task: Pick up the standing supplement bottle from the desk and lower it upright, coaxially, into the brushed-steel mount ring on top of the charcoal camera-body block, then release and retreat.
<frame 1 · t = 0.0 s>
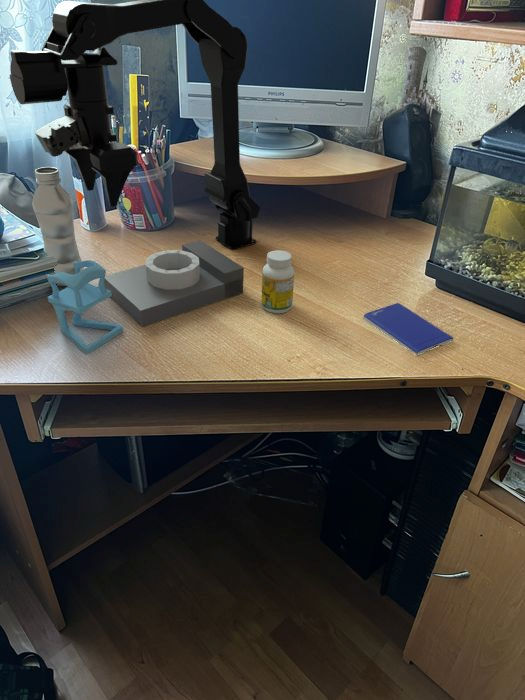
hand: (101, 197, 93), 15 cm above the table, fingers open, 9 cm apart
plastic bottle: (67, 282, 99), on the table
hard drive: (405, 333, 90), on the table
supplement bottle: (276, 307, 94), on the table
chair: (86, 335, 85), on the table
camera mount: (174, 292, 97), on the table
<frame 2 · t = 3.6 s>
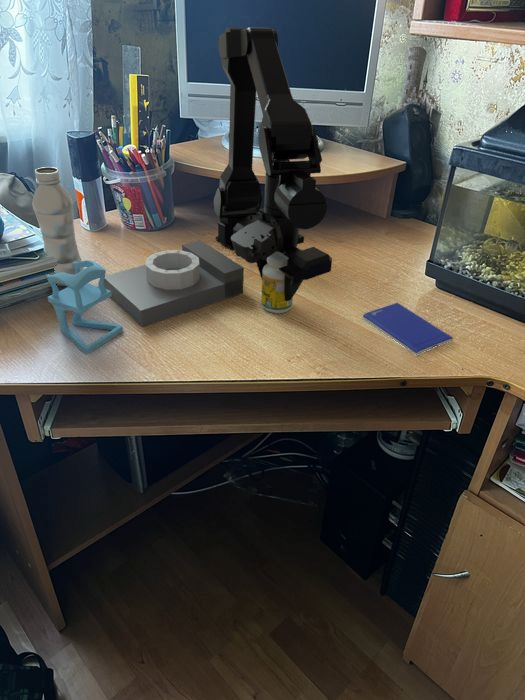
hand: (277, 293, 93), 3 cm above the table, fingers closed on supplement bottle, 5 cm apart
supplement bottle: (276, 307, 94), on the table, touching gripper
everything else where it was.
when the fingers open (7 cm above the table, at t = 8.3 s): supplement bottle drops 1 cm, resting on camera mount.
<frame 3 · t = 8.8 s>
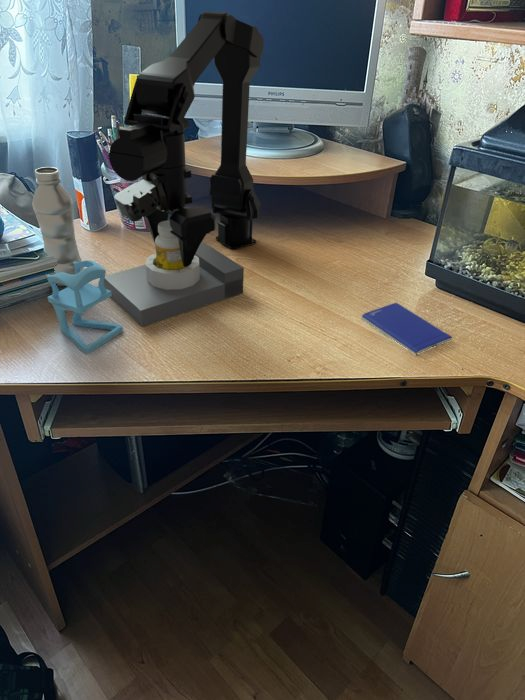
hand: (172, 256, 93), 7 cm above the table, fingers open, 9 cm apart
supplement bottle: (173, 277, 95), point 3 cm above the table, touching camera mount
everything else where it was.
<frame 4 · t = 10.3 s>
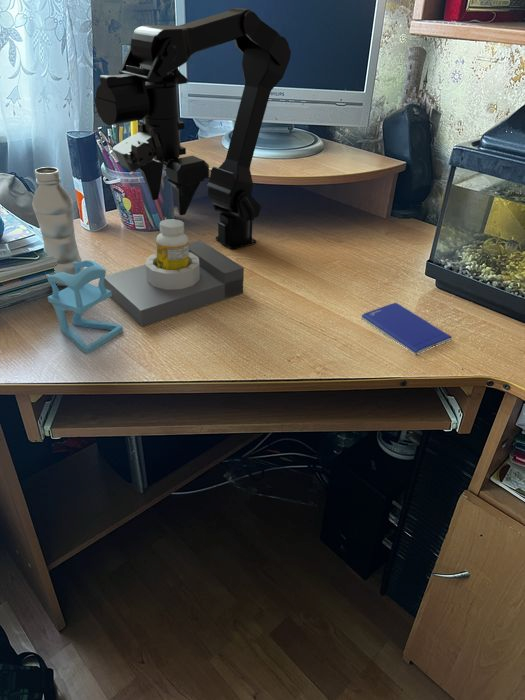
hand: (168, 207, 99), 12 cm above the table, fingers open, 9 cm apart
nothing on the table moved.
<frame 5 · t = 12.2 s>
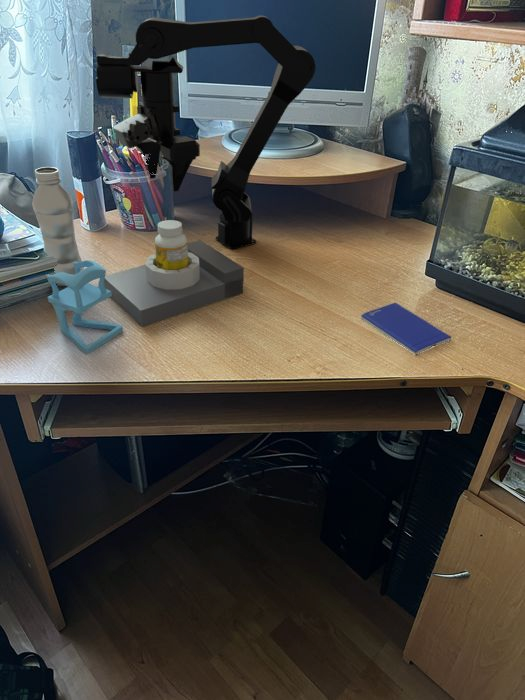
hand: (163, 184, 108), 12 cm above the table, fingers open, 9 cm apart
nothing on the table moved.
at the end: supplement bottle 0.1 cm off-centre on the camera mount, point 2.8 cm above the camera mount's base; supplement bottle tilted 1°; the gripper is holding nothing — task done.
